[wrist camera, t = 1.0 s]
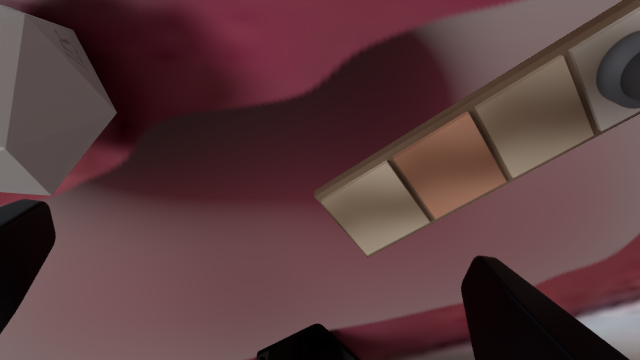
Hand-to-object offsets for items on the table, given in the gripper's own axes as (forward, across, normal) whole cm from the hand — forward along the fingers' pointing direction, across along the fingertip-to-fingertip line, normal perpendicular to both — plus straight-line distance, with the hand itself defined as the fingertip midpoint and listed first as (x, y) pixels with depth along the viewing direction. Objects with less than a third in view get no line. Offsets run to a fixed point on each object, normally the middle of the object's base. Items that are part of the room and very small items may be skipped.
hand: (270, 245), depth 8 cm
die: (+14, +13, +2) cm, 19 cm away
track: (+14, -11, +2) cm, 18 cm away
